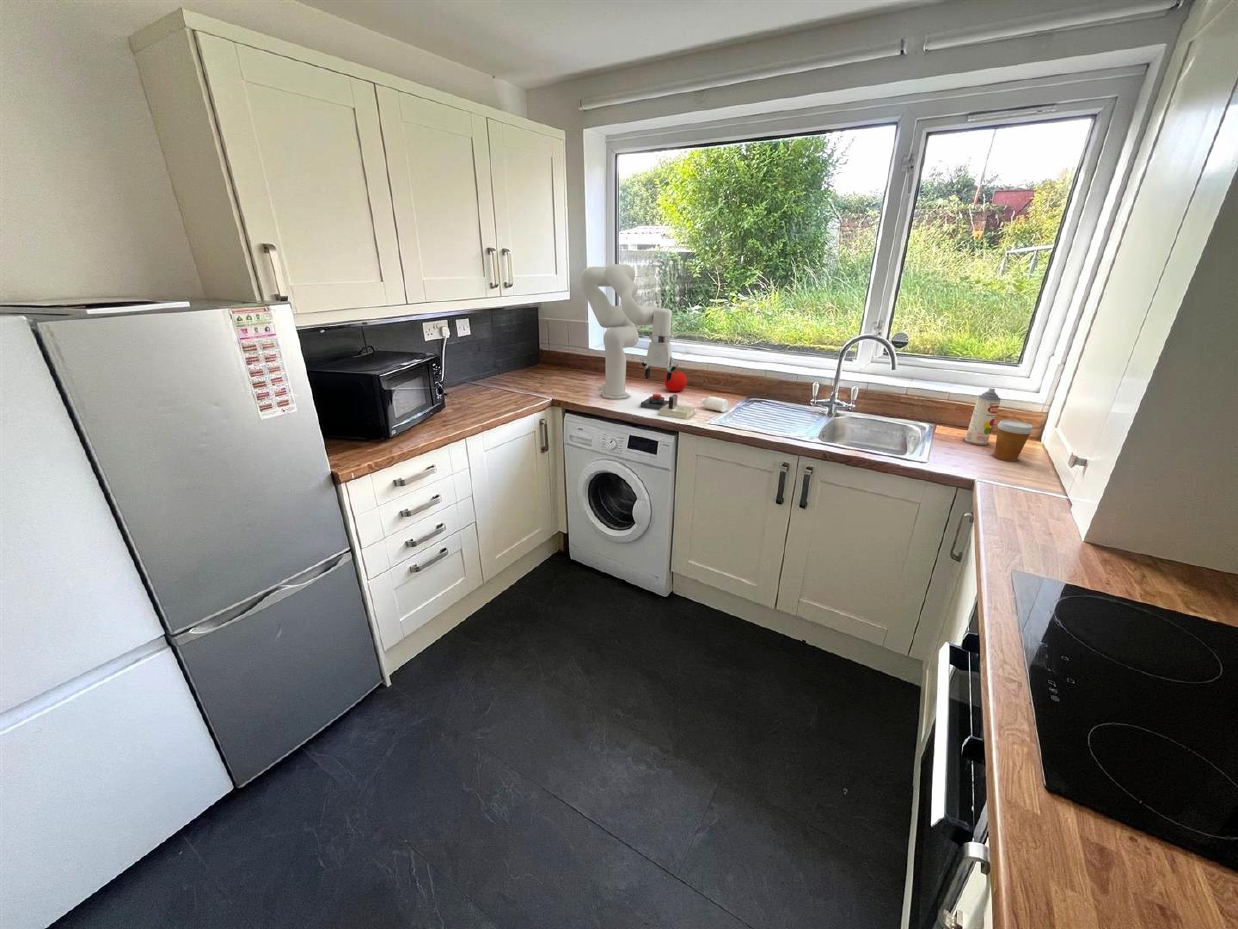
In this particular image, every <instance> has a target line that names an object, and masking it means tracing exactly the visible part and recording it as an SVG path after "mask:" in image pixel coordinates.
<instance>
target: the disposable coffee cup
mask: <svg viewBox="0 0 1238 929" xmlns="http://www.w3.org/2000/svg"><path fill="white" fill-rule="evenodd" d="M1033 427H1034V426H1033V424H1030V423H1027V422H1024V421H1019V420H1013V419H1012V420H1011V419H1002V420H1000V421H999V423H997V433H996V438H995V445H994V452H993V457H994V458H996V459H998V460H1001V461H1006V462H1016V461H1017V460H1018V458H1019V457H1020V454H1021V453H1022V452H1023V451H1022V450H1023V448H1024V446H1026V443H1027V442H1028V439H1029V437H1030V435H1031V434H1032V433H1033V432H1034V429H1033Z"/></svg>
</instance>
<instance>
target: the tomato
mask: <svg viewBox="0 0 1238 929" xmlns="http://www.w3.org/2000/svg"><path fill="white" fill-rule="evenodd" d="M687 385H688V378H687V375H686V374H685V372H683V371H682V370H674V371H673V372H672V379H671V380H670V381H669V382H667V373H666V374H665V376H664V386H665V389H666V390H667V391H668V392H673V393H676V392H677V393H678V392H682V391H683V390H684V389H685V388H686V387H687Z"/></svg>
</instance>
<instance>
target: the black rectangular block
mask: <svg viewBox="0 0 1238 929" xmlns="http://www.w3.org/2000/svg"><path fill="white" fill-rule="evenodd" d="M678 397H679V396H678V393H673V394H672V395H670V396H668V401H669V408H668V409H674V408H675V407H677V405H678V399H679V398H678Z"/></svg>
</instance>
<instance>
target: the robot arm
mask: <svg viewBox="0 0 1238 929" xmlns="http://www.w3.org/2000/svg"><path fill="white" fill-rule="evenodd" d="M579 279H580V280H579V282H580V283H579V284H580V289H581V292H582V293H583V295H584V297H585V299H586V300H587V302H588V303H589V305H590V308H591V310H592V312H593V314H594V316H595V318H596V321H597V323H598V324H599V326H600V327H601V328H603V329H606V331H605V332H604V334H603V345H604V352H605V353H604V354H605V365H604V366H605V370H604V372H605V373H604V376H605V377H604V384H605V385H599V384H598V386H597V390H598V391H602V393H601V397H602V398H605V399H611V400H624V399H627V398H629V393H628V392H626V383H627V382H626V381H627V379H626V377H627V355H626V352H625V351H624V349H626V348H632V347H635V346H636V345H637V344H638V342H639V339H640V337H639V332H638V328H637V327H636V326H638V327H639V326H651V325H652V330H651V331H652V332H651V334H649V336H648V339H650V341H649V344H648V347H647V351H646V352H647V353H646V355H645V356H643V357H640V358H639V360H640V363H641V365H642V367H643V368H644V370H645V371H644V377H645V379H646V380H647V379H650V378H651V367H654V368H660V369H661V368H662V369H666V371H667V373H666V374H667V382H669V381H670V380H671V379H672V372H673V371H676V369H677V368H678V366H679V365H680V362H679V361H678V360H676V359H675V358H673V350H672V349H673V348H672V343H671V329H672V316H673V311H672V310H671V309H670V308H665V307H658V306H654V305H653V306H652V305H645V306H640V305H638V303H637V302H636V301H635V300H634V298H635V296H636V295H637V293H638V291H639V290H638V289H639V288H638V285H637V284H636V283H635V282H634V281H635V279H636V272H635V269H634V268H633V267H632V266H631V265H629V264H623V263H622V264H621V263H613V264H610V265H608V266H588V267H586V268H584V269H583V271H582V272H581V274H580V278H579ZM600 287H601V288H603V287H605V288H607V287H611V288H612V289H613V290H614V292H615V293H616V294H617V295H618V297H619V298H620V299H621V301H620V304H621V305H612V304H611V302H610V301H609V298H608V296H607V294H606V293H605V292H604V291H603V290H602V289H601V288H600ZM645 360H646V361H645ZM672 364H674V365H673V366H672Z"/></svg>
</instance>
